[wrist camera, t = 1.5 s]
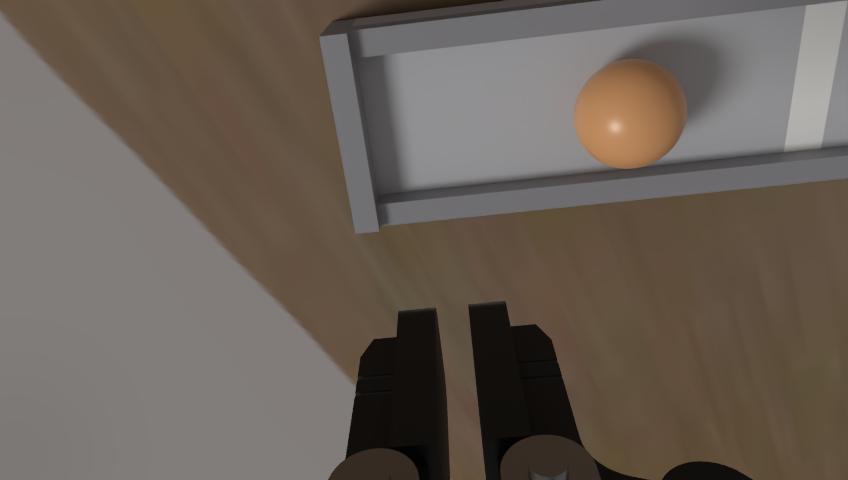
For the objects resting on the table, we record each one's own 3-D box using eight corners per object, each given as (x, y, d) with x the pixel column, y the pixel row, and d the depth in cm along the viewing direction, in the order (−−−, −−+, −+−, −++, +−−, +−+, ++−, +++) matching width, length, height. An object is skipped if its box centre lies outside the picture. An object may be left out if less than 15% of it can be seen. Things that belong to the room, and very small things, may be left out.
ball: (563, 55, 25) (586, 80, 21) (668, 43, 24) (710, 66, 21) (565, 153, 26) (586, 190, 23) (662, 142, 26) (699, 179, 23)
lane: (332, 21, 26) (317, 39, 22) (1218, -87, 24) (1355, -86, 20) (363, 199, 30) (354, 239, 26) (1134, 118, 28) (1238, 149, 24)
